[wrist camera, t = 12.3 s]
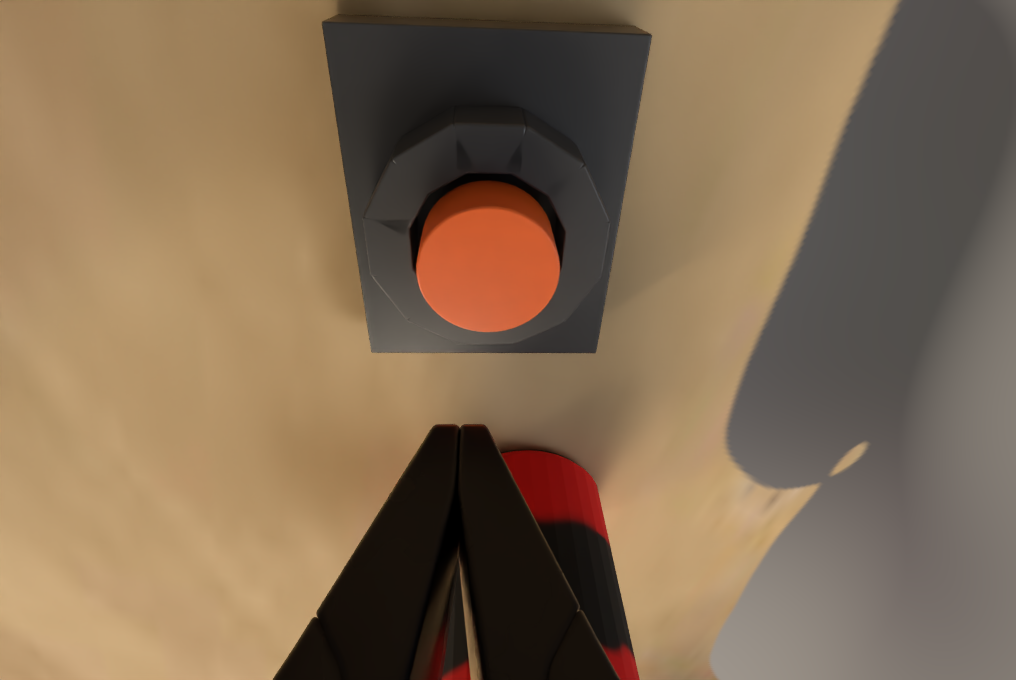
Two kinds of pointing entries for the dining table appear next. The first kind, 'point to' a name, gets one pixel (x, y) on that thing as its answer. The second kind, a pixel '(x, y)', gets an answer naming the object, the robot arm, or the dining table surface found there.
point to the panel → (484, 157)
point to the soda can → (562, 556)
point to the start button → (487, 257)
